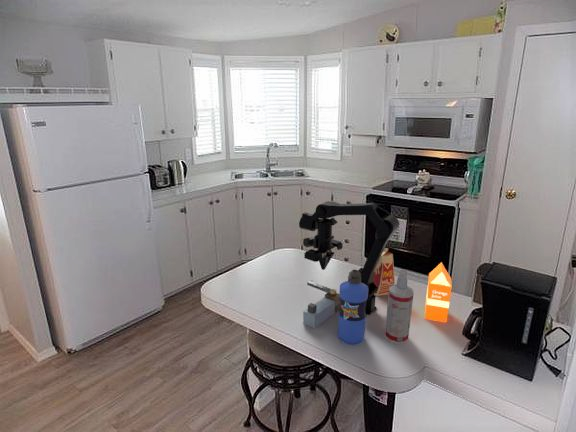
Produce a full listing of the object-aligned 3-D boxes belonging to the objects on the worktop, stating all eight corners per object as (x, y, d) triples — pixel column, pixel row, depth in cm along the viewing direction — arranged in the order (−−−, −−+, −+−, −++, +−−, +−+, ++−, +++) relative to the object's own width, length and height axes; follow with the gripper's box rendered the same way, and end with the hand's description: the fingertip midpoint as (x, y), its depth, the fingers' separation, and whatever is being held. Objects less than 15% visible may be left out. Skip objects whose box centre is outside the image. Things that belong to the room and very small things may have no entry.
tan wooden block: (340, 308, 146) (341, 294, 144) (335, 312, 143) (335, 298, 141) (330, 304, 149) (330, 290, 147) (324, 308, 146) (324, 294, 145)
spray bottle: (402, 329, 133) (409, 265, 125) (412, 342, 126) (420, 275, 118) (381, 331, 132) (387, 266, 124) (389, 344, 125) (396, 277, 117)
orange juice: (445, 310, 145) (452, 263, 139) (446, 322, 137) (454, 273, 131) (424, 306, 148) (430, 260, 142) (424, 318, 140) (430, 269, 134)
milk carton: (395, 292, 158) (400, 248, 152) (377, 296, 155) (381, 252, 149) (382, 283, 166) (386, 241, 160) (365, 286, 163) (368, 244, 157)
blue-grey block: (334, 313, 143) (335, 295, 141) (314, 328, 134) (314, 309, 131) (323, 308, 146) (324, 291, 144) (303, 323, 137) (303, 304, 134)
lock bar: (337, 294, 145) (337, 290, 144) (334, 296, 143) (334, 292, 142) (310, 283, 153) (310, 280, 152) (306, 285, 151) (306, 282, 150)
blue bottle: (360, 348, 123) (365, 279, 116) (333, 340, 127) (336, 273, 119) (367, 332, 131) (372, 267, 124) (341, 326, 135) (345, 262, 127)
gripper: (321, 223, 160) (320, 257, 164) (293, 234, 146) (293, 271, 151) (344, 229, 153) (342, 264, 157) (316, 241, 139) (315, 279, 144)
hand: (323, 269), depth 152 cm, fingers closed
